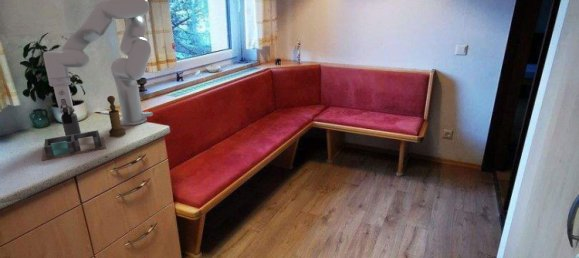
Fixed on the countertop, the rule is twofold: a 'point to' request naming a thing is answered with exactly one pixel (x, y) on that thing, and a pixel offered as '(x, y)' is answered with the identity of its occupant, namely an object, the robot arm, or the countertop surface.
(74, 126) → the bottle
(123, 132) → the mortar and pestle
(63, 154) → the socket block
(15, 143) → the countertop surface
